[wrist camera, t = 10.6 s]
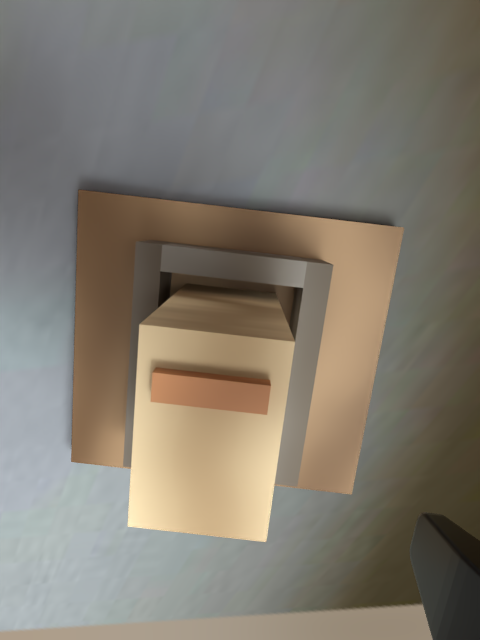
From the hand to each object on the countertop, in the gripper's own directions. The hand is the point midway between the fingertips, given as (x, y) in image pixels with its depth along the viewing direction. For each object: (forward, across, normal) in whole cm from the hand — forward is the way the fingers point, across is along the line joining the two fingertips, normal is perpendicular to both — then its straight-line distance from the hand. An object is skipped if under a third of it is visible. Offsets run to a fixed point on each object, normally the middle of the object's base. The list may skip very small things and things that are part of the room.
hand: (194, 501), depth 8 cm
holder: (+12, 0, 0) cm, 12 cm away
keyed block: (+11, 0, 0) cm, 11 cm away
